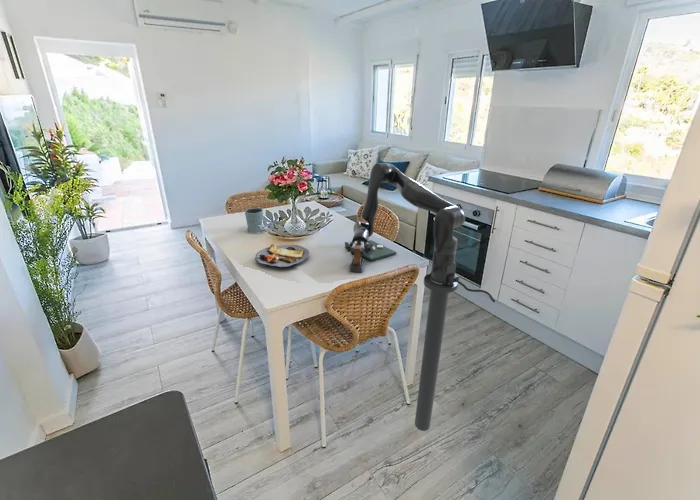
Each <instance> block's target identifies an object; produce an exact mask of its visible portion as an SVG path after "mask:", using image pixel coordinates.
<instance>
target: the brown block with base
mask: <svg viewBox="0 0 700 500" xmlns="http://www.w3.org/2000/svg"><path fill="white" fill-rule="evenodd" d="M360 251H361V245H355V246H354V255H353V257H352V260H351V264H350V267H349V270H350V271H349V272H350V273H363V268H364V264H365V263H364V261H365V258H362V256H360Z"/></svg>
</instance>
